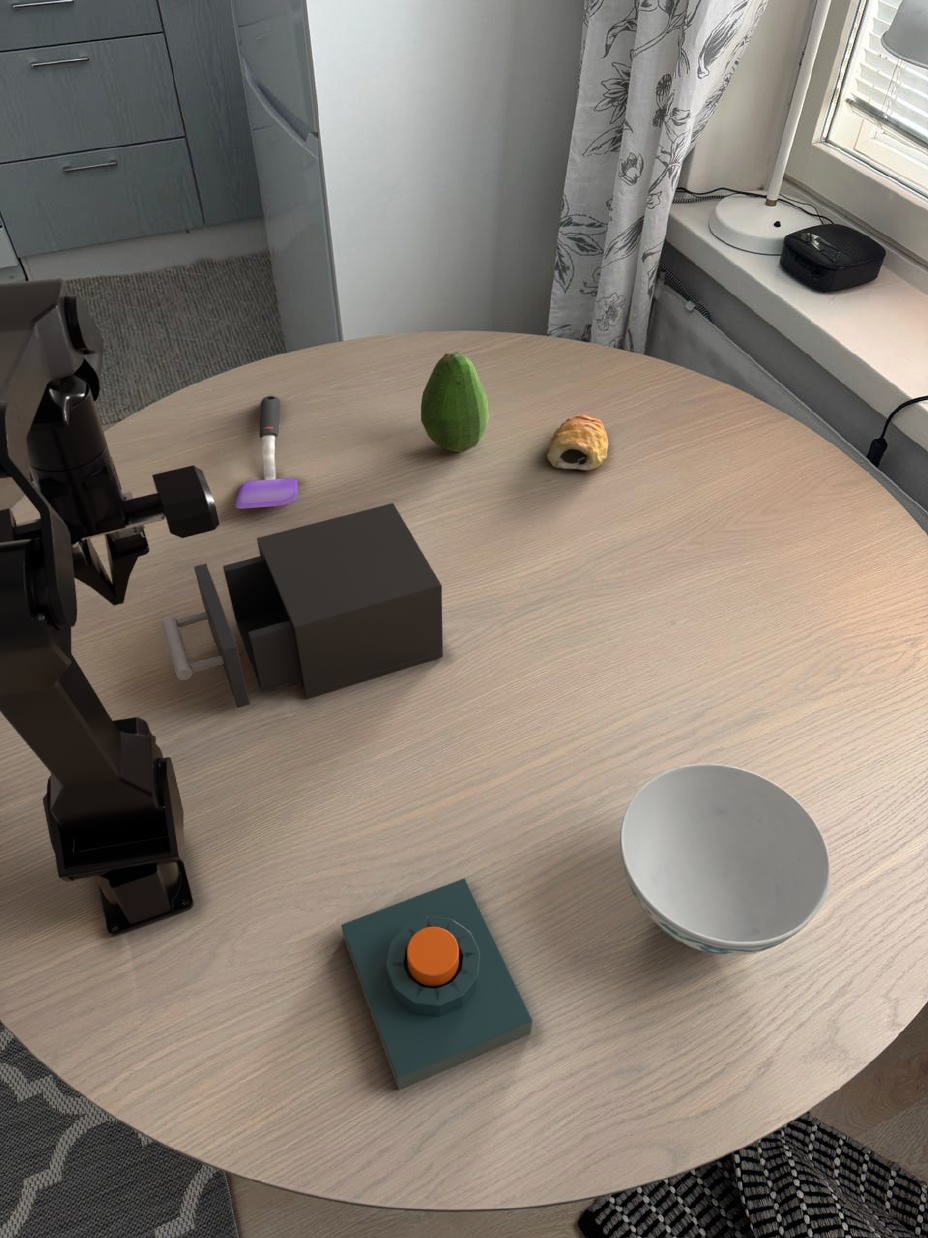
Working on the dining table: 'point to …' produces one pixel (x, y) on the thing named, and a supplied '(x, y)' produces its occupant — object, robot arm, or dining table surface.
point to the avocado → (454, 404)
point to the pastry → (579, 444)
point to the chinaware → (723, 858)
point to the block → (435, 1015)
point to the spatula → (268, 466)
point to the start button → (433, 956)
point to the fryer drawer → (241, 630)
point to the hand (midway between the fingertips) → (117, 601)
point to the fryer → (356, 597)
